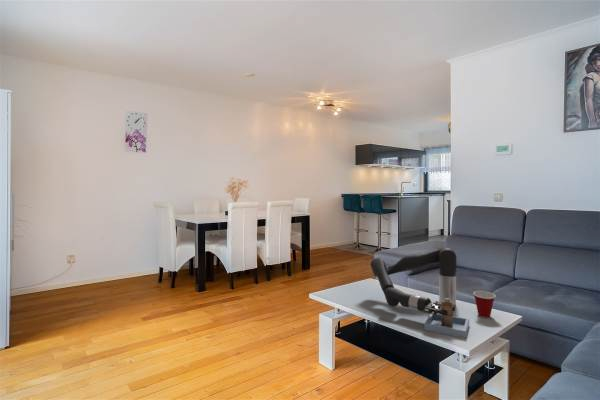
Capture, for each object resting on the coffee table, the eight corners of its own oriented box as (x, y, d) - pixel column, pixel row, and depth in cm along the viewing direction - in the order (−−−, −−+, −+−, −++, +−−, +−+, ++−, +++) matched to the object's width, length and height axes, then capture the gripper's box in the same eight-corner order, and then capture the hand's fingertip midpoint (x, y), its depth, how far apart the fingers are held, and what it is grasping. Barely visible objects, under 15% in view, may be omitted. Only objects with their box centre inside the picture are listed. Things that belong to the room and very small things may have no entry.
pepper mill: (442, 323, 170) (442, 296, 169) (453, 325, 167) (453, 298, 167) (440, 326, 165) (440, 299, 165) (451, 329, 163) (451, 301, 163)
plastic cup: (474, 317, 179) (474, 295, 179) (471, 311, 189) (471, 290, 189) (497, 320, 175) (497, 297, 175) (493, 313, 186) (493, 291, 185)
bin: (431, 318, 178) (431, 312, 178) (469, 325, 169) (469, 318, 169) (424, 330, 163) (424, 323, 163) (465, 338, 154) (465, 331, 154)
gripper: (425, 307, 181) (456, 315, 170) (413, 314, 171) (445, 322, 160) (425, 293, 181) (456, 300, 169) (413, 299, 171) (445, 307, 160)
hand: (451, 311), depth 165 cm, fingers open, 8 cm apart
